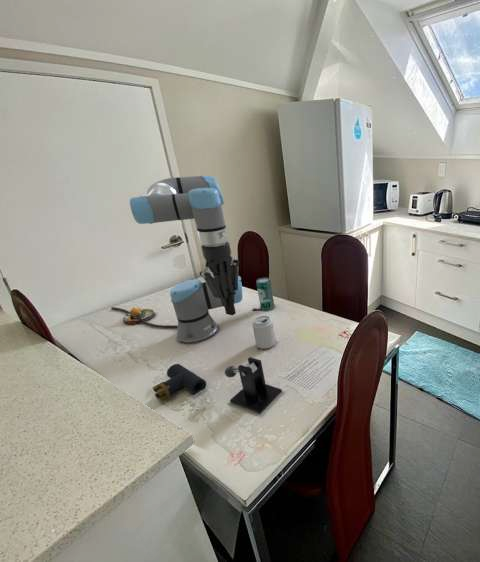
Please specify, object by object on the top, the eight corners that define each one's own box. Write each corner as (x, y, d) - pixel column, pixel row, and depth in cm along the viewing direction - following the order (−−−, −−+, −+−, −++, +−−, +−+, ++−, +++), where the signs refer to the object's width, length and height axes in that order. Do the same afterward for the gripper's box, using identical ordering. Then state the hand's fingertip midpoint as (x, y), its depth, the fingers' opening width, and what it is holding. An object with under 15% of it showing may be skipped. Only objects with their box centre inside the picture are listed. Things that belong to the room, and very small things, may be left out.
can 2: (270, 351, 122) (265, 325, 117) (253, 349, 123) (247, 323, 119) (279, 340, 129) (275, 315, 124) (262, 338, 130) (258, 313, 125)
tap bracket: (230, 403, 97) (221, 368, 92) (253, 383, 106) (246, 349, 100) (260, 415, 93) (252, 379, 87) (282, 393, 101) (276, 358, 96)
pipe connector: (167, 397, 93) (143, 379, 100) (171, 411, 95) (148, 392, 102) (204, 376, 102) (180, 360, 109) (207, 388, 104) (183, 373, 111)
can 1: (258, 308, 154) (253, 281, 148) (268, 303, 159) (263, 276, 153) (267, 311, 151) (262, 283, 145) (276, 306, 156) (272, 279, 150)
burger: (160, 311, 153) (155, 298, 150) (144, 324, 142) (139, 310, 139) (135, 312, 152) (130, 298, 150) (117, 325, 142) (111, 310, 139)
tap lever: (226, 380, 99) (220, 371, 99) (234, 373, 102) (229, 364, 102) (252, 376, 93) (246, 366, 92) (260, 368, 96) (254, 359, 95)
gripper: (205, 251, 84) (223, 326, 94) (241, 238, 95) (254, 306, 105) (186, 248, 87) (205, 321, 96) (223, 236, 98) (237, 303, 107)
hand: (231, 313), depth 100 cm, fingers closed
